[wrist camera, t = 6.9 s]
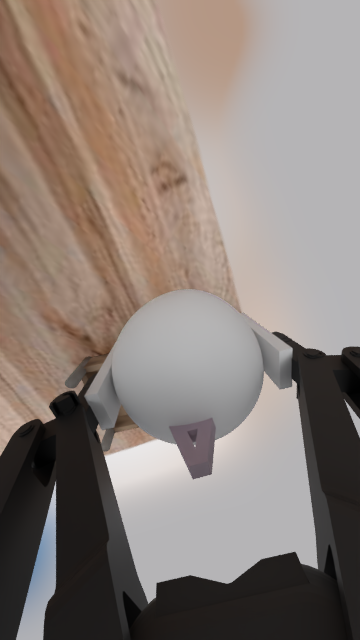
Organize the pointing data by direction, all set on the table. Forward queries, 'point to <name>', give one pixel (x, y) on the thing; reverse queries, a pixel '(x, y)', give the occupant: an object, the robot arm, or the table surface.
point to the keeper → (84, 373)
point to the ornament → (188, 372)
